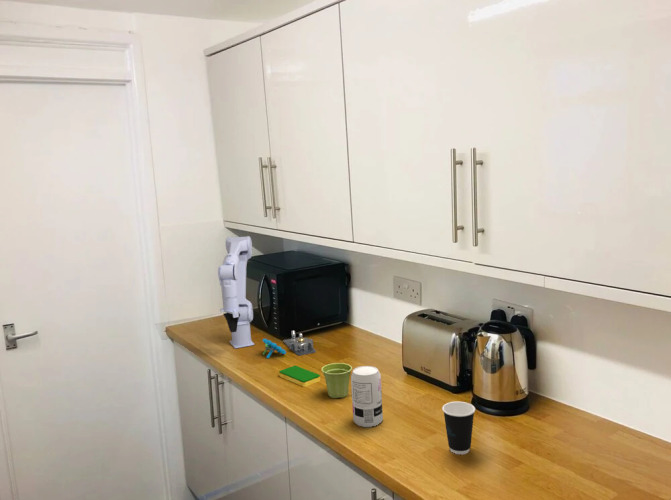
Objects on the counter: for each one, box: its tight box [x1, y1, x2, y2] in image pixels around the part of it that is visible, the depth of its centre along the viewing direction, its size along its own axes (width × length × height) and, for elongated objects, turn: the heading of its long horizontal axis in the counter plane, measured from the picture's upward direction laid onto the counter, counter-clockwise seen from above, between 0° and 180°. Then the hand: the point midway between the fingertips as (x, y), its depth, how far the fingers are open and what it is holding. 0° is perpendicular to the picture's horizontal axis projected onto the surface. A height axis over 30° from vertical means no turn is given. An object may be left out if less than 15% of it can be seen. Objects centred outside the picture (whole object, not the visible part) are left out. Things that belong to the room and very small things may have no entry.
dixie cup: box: [442, 401, 476, 456], centre depth 146 cm, size 8×8×11 cm
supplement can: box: [350, 365, 384, 428], centre depth 163 cm, size 8×8×15 cm
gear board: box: [282, 330, 317, 356], centre depth 230 cm, size 18×9×6 cm, turn 23°
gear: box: [262, 338, 287, 359], centre depth 221 cm, size 11×6×10 cm
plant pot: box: [321, 362, 353, 399], centre depth 183 cm, size 9×9×9 cm
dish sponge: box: [278, 365, 321, 388], centre depth 199 cm, size 7×14×2 cm, turn 41°
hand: (233, 331), depth 222 cm, fingers closed
